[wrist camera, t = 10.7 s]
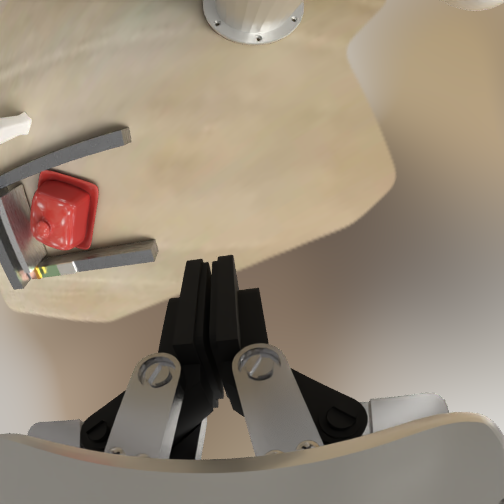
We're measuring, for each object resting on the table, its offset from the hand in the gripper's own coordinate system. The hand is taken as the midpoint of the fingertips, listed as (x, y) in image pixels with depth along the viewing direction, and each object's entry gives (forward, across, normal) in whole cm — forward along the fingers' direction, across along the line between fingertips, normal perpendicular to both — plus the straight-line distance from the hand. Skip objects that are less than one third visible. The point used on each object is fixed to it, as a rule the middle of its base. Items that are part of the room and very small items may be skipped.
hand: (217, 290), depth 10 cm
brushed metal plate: (+29, +34, +5) cm, 45 cm away
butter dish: (+30, +26, +4) cm, 39 cm away
